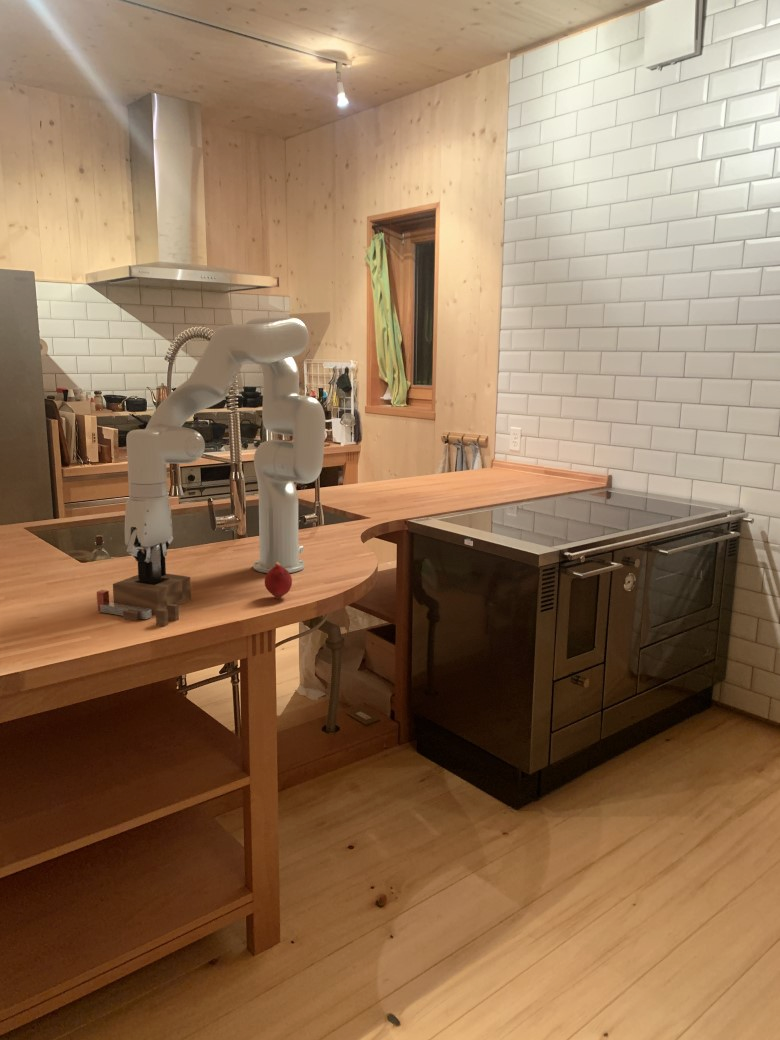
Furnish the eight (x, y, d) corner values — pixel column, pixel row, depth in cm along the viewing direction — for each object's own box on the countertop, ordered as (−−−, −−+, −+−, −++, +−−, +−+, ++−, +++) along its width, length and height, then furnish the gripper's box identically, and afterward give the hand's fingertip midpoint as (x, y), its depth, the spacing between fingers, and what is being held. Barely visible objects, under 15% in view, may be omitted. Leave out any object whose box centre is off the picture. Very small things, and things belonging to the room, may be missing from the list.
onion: (293, 594, 170) (292, 559, 168) (290, 602, 164) (290, 566, 162) (266, 594, 169) (266, 558, 168) (263, 602, 164) (262, 565, 162)
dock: (148, 593, 168) (147, 571, 167) (212, 602, 163) (212, 579, 162) (96, 614, 154) (94, 590, 153) (164, 626, 148) (163, 601, 147)
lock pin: (103, 608, 157) (102, 589, 156) (151, 616, 153) (150, 596, 152) (97, 611, 155) (96, 592, 154) (145, 619, 151) (144, 599, 150)
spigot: (151, 586, 163) (149, 540, 161) (165, 588, 162) (163, 541, 160) (140, 590, 160) (138, 543, 158) (154, 592, 159) (152, 545, 157)
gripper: (158, 483, 166) (162, 566, 169) (105, 495, 150) (110, 585, 154) (188, 486, 163) (191, 569, 167) (136, 498, 148) (141, 590, 152)
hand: (152, 576), depth 160 cm, fingers closed on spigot, 3 cm apart
